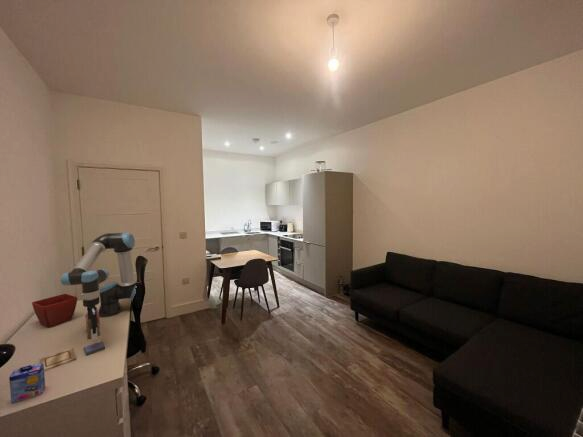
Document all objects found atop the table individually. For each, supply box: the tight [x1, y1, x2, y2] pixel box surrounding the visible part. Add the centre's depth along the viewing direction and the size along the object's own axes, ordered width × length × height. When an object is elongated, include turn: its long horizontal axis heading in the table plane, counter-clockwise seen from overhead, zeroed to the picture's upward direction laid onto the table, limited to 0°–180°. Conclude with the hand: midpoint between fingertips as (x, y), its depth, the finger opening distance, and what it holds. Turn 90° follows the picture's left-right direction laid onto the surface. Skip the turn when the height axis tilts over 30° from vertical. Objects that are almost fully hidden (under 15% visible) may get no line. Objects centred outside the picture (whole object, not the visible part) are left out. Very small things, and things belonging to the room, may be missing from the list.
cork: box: [86, 318, 101, 340], centre depth 144 cm, size 6×6×11 cm
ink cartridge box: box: [8, 363, 46, 404], centre depth 110 cm, size 10×6×14 cm, turn 124°
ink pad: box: [82, 340, 106, 357], centre depth 145 cm, size 9×9×2 cm
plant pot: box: [31, 293, 78, 328], centre depth 178 cm, size 19×19×17 cm
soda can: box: [85, 309, 101, 333], centre depth 166 cm, size 7×7×13 cm
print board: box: [39, 347, 77, 372], centre depth 135 cm, size 14×14×1 cm
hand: (93, 336), depth 144 cm, fingers closed on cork, 6 cm apart
